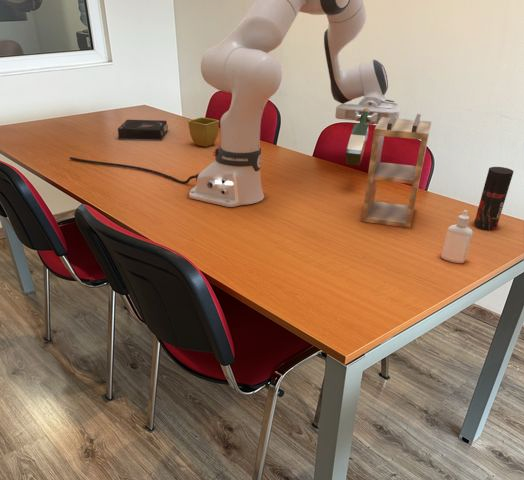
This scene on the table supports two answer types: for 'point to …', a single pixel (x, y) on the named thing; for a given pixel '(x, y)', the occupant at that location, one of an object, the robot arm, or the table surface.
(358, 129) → the bottle
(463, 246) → the eye dropper bottle
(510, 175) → the deodorant
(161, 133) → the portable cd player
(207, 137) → the flower pot
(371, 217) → the bottle rack
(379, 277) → the table surface
